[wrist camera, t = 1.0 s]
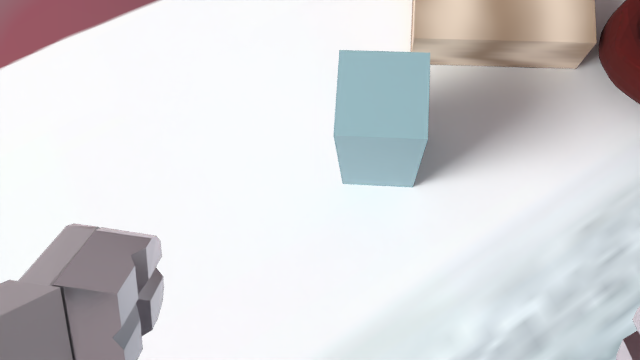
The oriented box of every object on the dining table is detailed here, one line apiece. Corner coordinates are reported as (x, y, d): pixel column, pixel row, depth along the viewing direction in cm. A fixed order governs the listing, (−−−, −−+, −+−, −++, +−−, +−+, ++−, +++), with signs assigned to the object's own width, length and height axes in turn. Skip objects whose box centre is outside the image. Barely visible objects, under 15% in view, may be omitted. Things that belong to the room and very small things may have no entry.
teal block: (415, 120, 43) (430, 52, 32) (412, 187, 41) (427, 139, 31) (346, 118, 43) (339, 50, 32) (342, 183, 42) (333, 135, 31)
